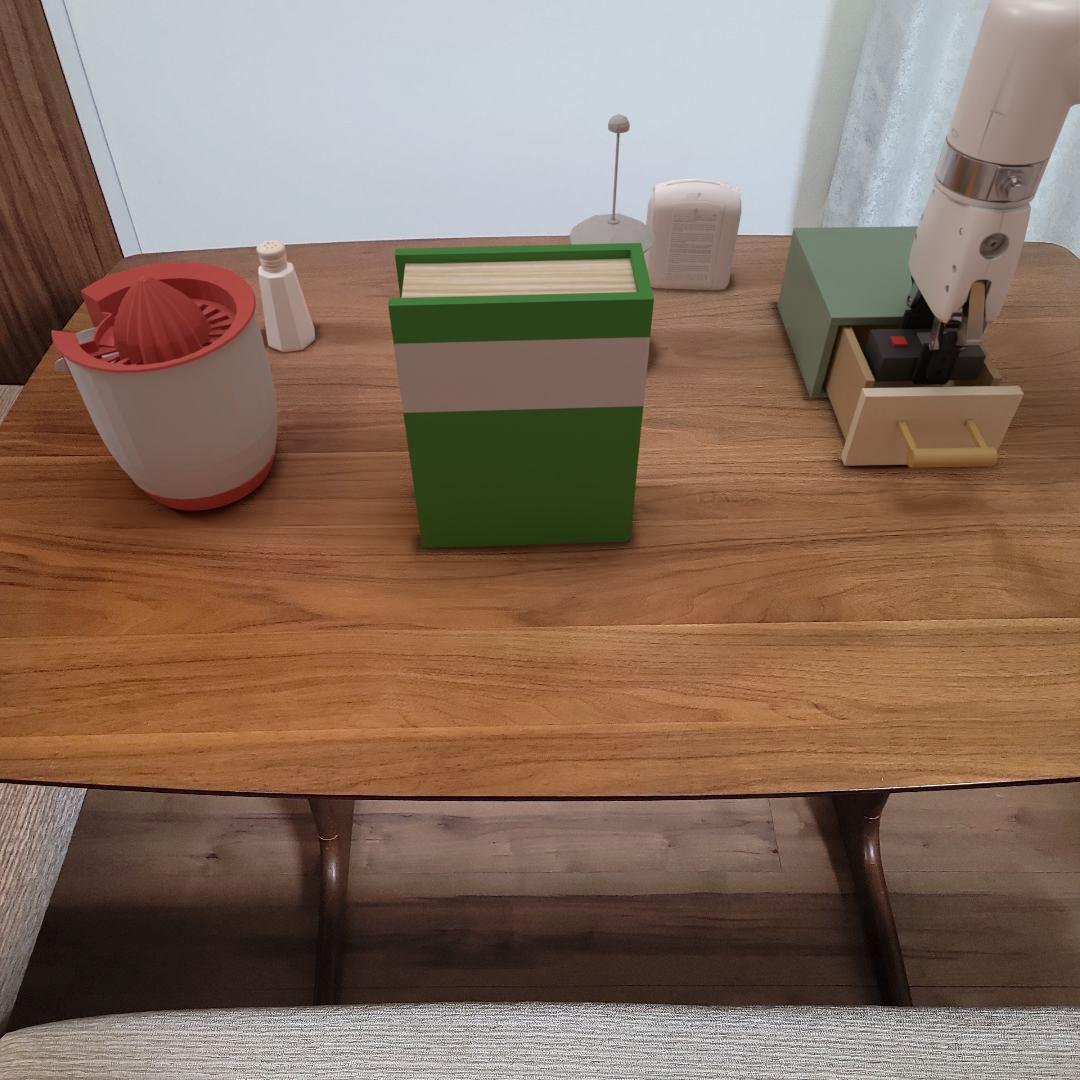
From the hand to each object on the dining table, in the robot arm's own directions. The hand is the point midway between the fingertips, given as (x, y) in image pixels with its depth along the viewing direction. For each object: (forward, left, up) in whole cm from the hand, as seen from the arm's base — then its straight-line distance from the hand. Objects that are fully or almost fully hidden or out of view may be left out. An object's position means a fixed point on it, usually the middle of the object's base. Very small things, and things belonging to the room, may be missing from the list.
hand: (920, 363), depth 84 cm
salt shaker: (+61, -17, -8) cm, 64 cm away
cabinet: (0, -13, -8) cm, 15 cm away
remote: (0, 0, 0) cm, 0 cm away
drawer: (0, +1, -7) cm, 7 cm away
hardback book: (+36, +11, -8) cm, 39 cm away
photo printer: (+17, -27, -8) cm, 33 cm away
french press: (+27, -12, -8) cm, 31 cm away
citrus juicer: (+66, +4, -8) cm, 67 cm away
